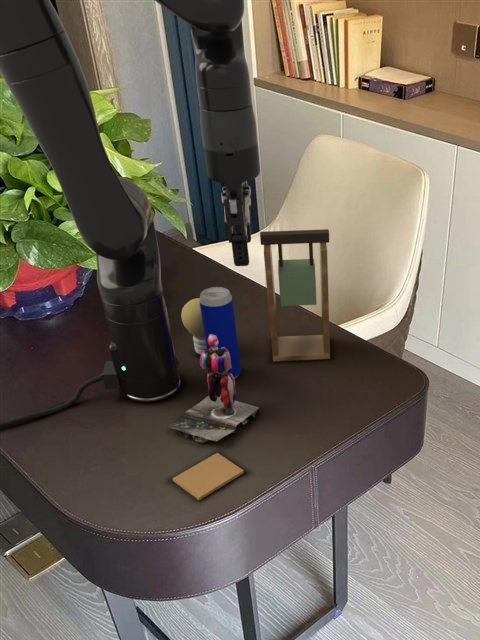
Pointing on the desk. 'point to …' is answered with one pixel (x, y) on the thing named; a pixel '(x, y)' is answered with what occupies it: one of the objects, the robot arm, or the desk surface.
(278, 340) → the wooden frame
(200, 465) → the mat
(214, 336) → the statue
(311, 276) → the green block with crossbars
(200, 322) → the light bulb
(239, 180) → the robot arm
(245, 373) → the desk surface
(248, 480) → the desk surface
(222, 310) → the beverage can
